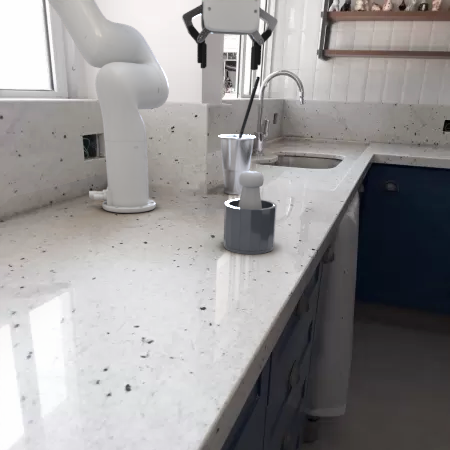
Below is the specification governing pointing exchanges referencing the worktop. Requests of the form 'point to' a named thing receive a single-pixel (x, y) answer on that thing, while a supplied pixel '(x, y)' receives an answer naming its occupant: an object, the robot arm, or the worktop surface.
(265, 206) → the grey mortar cup
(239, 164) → the glass
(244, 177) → the salt shaker
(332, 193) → the worktop surface
